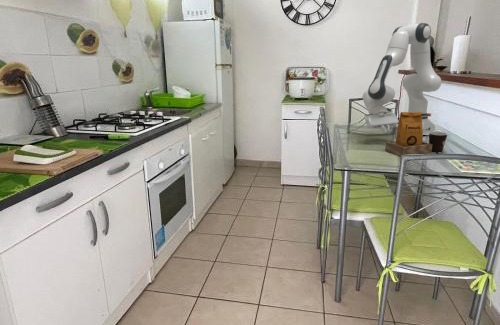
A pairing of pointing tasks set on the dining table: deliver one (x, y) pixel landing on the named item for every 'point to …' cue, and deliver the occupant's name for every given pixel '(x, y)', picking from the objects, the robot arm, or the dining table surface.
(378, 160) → the dining table surface
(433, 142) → the coffee mug
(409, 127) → the coffee package
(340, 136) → the dining table surface
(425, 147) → the frame
